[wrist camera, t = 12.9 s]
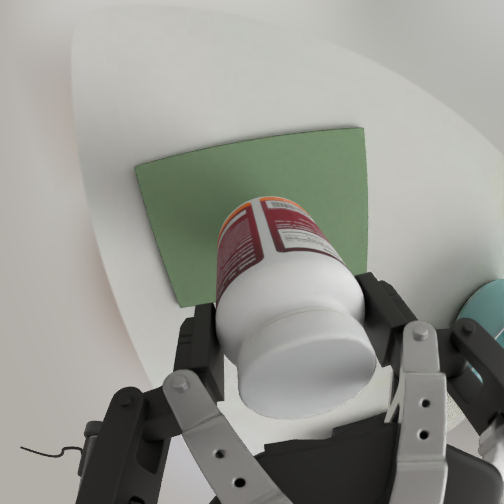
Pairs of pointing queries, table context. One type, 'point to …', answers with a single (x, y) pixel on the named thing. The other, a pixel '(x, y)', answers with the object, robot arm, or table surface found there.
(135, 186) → the table surface
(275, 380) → the pill bottle
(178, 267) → the mat
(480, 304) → the bowl
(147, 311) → the table surface
